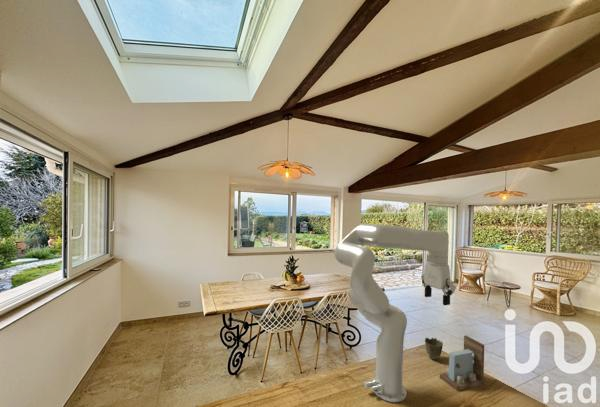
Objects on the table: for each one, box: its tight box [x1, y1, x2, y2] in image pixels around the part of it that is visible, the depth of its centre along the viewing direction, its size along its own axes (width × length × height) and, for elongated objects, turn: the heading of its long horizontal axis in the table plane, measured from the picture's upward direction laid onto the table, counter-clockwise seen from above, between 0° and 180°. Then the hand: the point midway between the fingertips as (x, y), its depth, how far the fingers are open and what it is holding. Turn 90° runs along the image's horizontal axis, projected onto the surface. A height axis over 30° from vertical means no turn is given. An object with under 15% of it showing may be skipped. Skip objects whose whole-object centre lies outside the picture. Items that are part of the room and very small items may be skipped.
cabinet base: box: [439, 335, 485, 391], centre depth 107 cm, size 14×8×16 cm, turn 108°
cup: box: [424, 337, 444, 361], centre depth 123 cm, size 8×7×8 cm
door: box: [448, 349, 474, 381], centre depth 107 cm, size 10×3×10 cm, turn 108°
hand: (436, 300), depth 112 cm, fingers open, 9 cm apart
